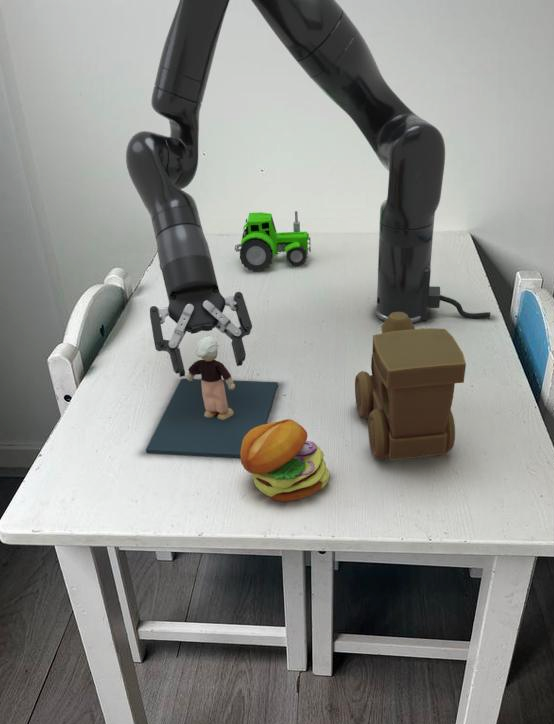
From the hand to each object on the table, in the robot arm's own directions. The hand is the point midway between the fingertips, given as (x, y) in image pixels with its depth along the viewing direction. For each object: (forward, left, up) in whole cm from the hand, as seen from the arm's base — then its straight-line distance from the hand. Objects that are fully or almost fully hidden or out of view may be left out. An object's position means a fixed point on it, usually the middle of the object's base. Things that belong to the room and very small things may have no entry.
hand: (211, 369), depth 107 cm
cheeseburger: (-13, +15, -9) cm, 21 cm away
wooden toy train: (-28, +2, -9) cm, 29 cm away
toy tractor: (+1, -61, -9) cm, 62 cm away
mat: (0, 0, -8) cm, 9 cm away
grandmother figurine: (0, -1, -8) cm, 8 cm away
